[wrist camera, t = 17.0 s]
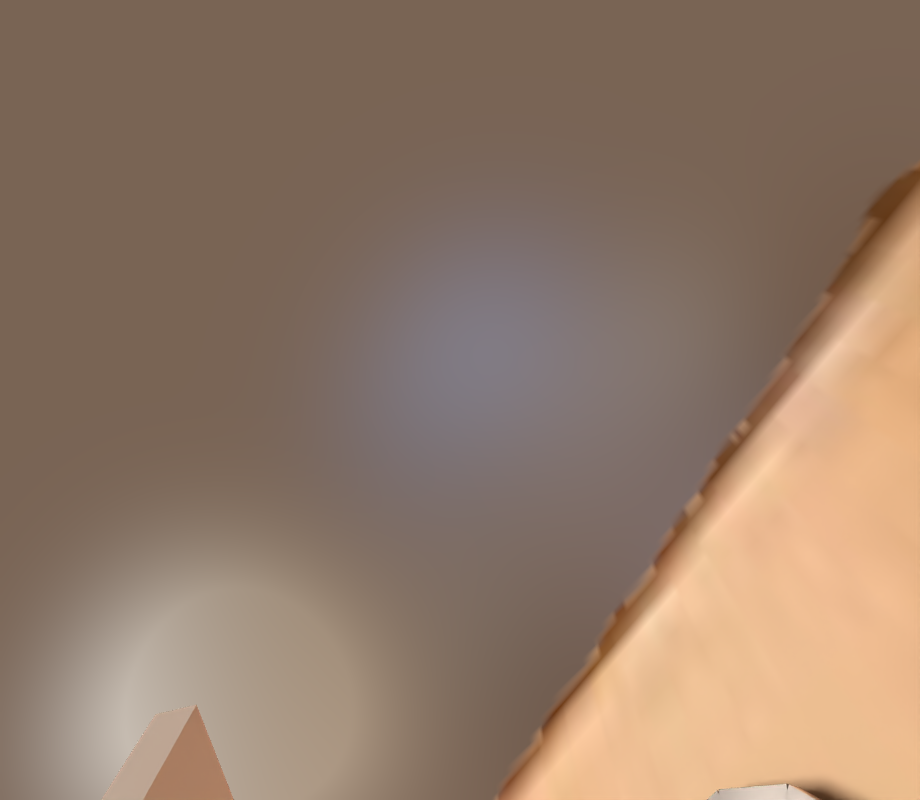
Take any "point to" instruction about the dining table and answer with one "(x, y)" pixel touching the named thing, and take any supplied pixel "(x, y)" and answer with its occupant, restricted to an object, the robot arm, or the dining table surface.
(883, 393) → the dining table surface
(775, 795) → the saucer plate
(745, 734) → the dining table surface
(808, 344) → the dining table surface
